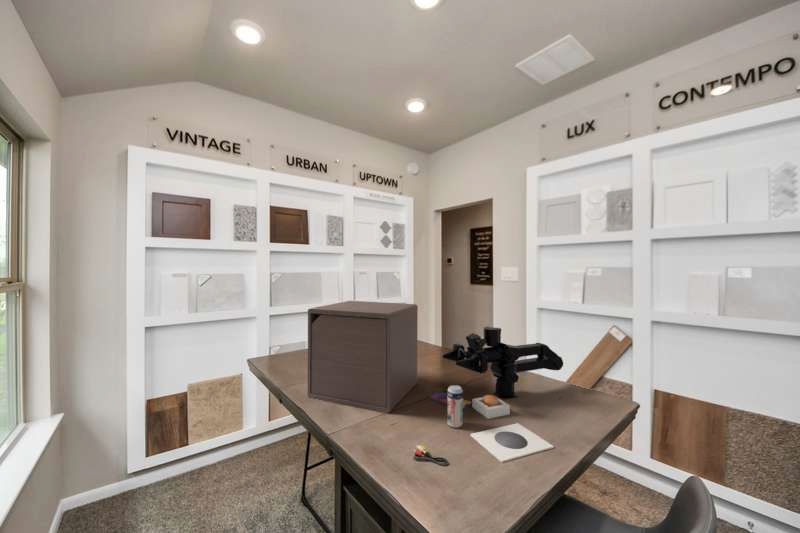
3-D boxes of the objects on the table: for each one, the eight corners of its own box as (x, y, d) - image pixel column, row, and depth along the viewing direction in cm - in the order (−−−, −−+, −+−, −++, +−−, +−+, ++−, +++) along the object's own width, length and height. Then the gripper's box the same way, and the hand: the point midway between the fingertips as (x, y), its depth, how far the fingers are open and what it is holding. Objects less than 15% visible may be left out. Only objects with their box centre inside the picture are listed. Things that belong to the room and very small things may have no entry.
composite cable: (449, 463, 82) (450, 454, 82) (440, 473, 78) (440, 463, 78) (418, 450, 88) (418, 441, 88) (408, 458, 84) (408, 448, 84)
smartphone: (439, 394, 127) (439, 391, 127) (473, 404, 116) (473, 401, 116) (428, 399, 121) (428, 397, 121) (462, 411, 111) (462, 408, 111)
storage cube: (307, 397, 121) (307, 307, 121) (347, 374, 148) (347, 300, 148) (389, 414, 108) (390, 313, 108) (417, 384, 135) (417, 303, 135)
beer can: (445, 421, 103) (446, 384, 103) (460, 421, 104) (460, 384, 104) (449, 429, 98) (449, 390, 98) (464, 428, 99) (464, 390, 99)
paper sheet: (517, 424, 102) (517, 422, 102) (553, 447, 89) (553, 445, 89) (470, 435, 95) (470, 433, 95) (501, 462, 82) (501, 460, 82)
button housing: (492, 403, 117) (492, 395, 117) (509, 414, 109) (509, 405, 109) (472, 407, 114) (472, 399, 114) (488, 418, 105) (488, 409, 105)
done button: (492, 399, 114) (492, 394, 114) (501, 405, 110) (501, 399, 110) (480, 401, 112) (480, 396, 112) (489, 407, 108) (489, 401, 108)
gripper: (470, 329, 130) (437, 332, 124) (501, 339, 112) (463, 343, 106) (470, 356, 130) (436, 361, 124) (501, 371, 112) (463, 376, 106)
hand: (449, 359), depth 115 cm, fingers open, 9 cm apart
